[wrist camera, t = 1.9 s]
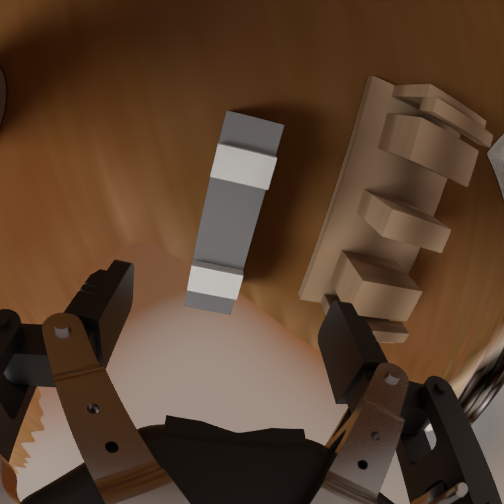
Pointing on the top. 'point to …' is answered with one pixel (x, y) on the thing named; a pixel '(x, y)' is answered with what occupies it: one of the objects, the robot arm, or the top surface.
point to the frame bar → (231, 210)
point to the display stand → (391, 201)
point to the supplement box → (498, 161)
